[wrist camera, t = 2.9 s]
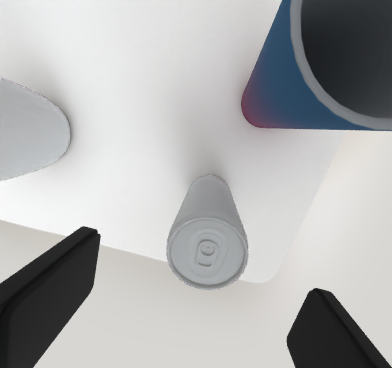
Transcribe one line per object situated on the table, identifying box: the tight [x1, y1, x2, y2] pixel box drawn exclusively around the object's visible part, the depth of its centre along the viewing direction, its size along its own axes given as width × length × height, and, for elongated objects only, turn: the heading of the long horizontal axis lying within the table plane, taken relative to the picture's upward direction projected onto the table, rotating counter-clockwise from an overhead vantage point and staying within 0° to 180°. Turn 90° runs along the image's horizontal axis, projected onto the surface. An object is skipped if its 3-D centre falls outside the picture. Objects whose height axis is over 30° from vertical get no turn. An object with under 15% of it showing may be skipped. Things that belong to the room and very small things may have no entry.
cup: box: [241, 0, 392, 131], centre depth 12 cm, size 7×7×15 cm
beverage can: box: [167, 175, 248, 290], centre depth 16 cm, size 5×5×12 cm
